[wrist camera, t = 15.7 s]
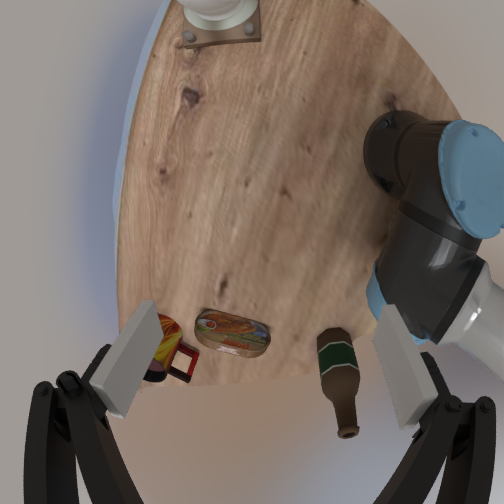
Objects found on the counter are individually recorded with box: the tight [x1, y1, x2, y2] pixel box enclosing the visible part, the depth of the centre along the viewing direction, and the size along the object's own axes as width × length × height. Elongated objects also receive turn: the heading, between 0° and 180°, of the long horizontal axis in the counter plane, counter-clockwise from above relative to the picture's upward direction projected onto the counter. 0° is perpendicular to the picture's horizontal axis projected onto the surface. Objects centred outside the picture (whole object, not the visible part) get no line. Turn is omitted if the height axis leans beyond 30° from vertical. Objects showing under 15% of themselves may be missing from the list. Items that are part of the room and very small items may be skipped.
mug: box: [143, 314, 199, 383], centre depth 53 cm, size 10×14×12 cm
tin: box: [194, 310, 271, 358], centre depth 51 cm, size 15×3×8 cm, turn 74°
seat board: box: [182, 0, 261, 49], centre depth 28 cm, size 12×14×5 cm
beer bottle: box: [317, 328, 360, 439], centre depth 44 cm, size 8×8×24 cm
